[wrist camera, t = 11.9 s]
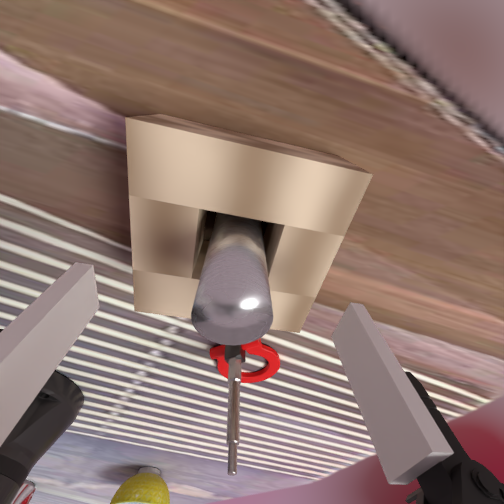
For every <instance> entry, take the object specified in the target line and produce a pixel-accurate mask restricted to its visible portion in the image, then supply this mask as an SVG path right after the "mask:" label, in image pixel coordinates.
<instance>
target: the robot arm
mask: <svg viewBox="0 0 504 504" xmlns="http://www.w3.org/2000/svg"><path fill="white" fill-rule="evenodd" d="M98 309H99V301H98V294H97V287H96V280H95V273H94V266H93V265H91V264H84V263H77V262H76V263H74V264H73V265H72V266H71V267H70V268H69V269H68V270H67V271H66V272H65V273H64V274H63V275H62V276H61V277H59V278H58V279H57V280H56V281H55V282H54V283H53V284H52V285H51V286H50V287H49V288H48V289H47V290H46V291H44V292H43V293H42V294H41V295H40V296H39V297H38V298H37V299H36V300H35V301H34V302H33V303H32V304H31V305H29V306H28V307H27V308H26V309H25V310H24V311H23V312H22V313H21V314H20V315H19V316H18V317H17V318H16V319H14V320H13V321H12V322H11V323H10V324H9V325H8V326H7V327H6V328H5V329H0V504H11V503H12V501H13V500H14V498H15V496H16V495H17V493H18V491H19V489H20V487H21V486H22V484H23V482H24V481H25V479H26V477H27V476H28V474H29V472H30V471H31V469H32V468H33V466H34V465H35V464H36V463H37V461H38V460H39V459H40V458H41V457H42V456H43V455H44V454H45V453H46V451H47V450H48V449H49V448H50V447H51V446H52V445H53V444H54V443H55V442H56V440H57V439H58V438H59V437H60V436H61V435H62V434H63V433H64V432H65V431H66V429H67V428H68V427H69V426H70V425H71V424H72V423H73V421H74V420H75V419H76V417H77V415H78V413H79V411H80V409H81V408H82V406H83V403H84V397H83V394H82V392H81V390H80V389H79V388H78V387H77V386H76V385H75V384H74V383H73V382H72V381H70V380H69V379H67V378H66V377H64V376H63V375H61V374H59V373H57V372H55V369H56V368H57V366H58V365H59V364H60V362H61V361H62V359H63V358H64V357H65V355H66V354H67V352H68V351H69V350H70V348H71V347H72V345H73V344H74V343H75V341H76V340H77V338H78V337H79V335H80V334H81V333H82V331H83V330H84V328H85V327H86V326H87V324H88V323H89V321H90V320H91V319H92V317H93V316H94V314H95V313H96V312H97V310H98ZM331 337H332V339H333V342H334V344H335V347H336V350H337V352H338V355H339V357H340V360H341V362H342V365H343V368H344V370H345V373H346V375H347V378H348V380H349V383H350V386H351V388H352V391H353V393H354V396H355V398H356V401H357V404H358V406H359V409H360V411H361V414H362V416H363V419H364V422H365V424H366V427H367V429H368V432H369V434H370V437H371V440H372V442H373V445H374V447H375V450H376V452H377V455H378V458H379V460H380V463H381V465H382V468H383V470H384V473H385V476H386V478H387V481H388V483H389V484H406V485H407V484H409V483H410V482H412V481H413V480H415V479H416V478H417V480H418V482H419V484H420V486H421V488H419V489H417V490H416V491H414V492H413V493H412V494H410V495H408V496H407V499H406V502H407V503H411V502H412V501H414V500H416V504H504V484H503V483H500V482H499V480H498V479H497V478H496V477H495V476H494V475H493V474H492V473H491V472H490V471H489V470H488V469H487V468H486V467H484V466H483V465H482V464H480V463H478V462H476V461H475V460H471V459H470V458H469V456H468V455H467V453H466V452H465V451H464V449H463V448H462V446H461V444H460V443H459V442H458V440H457V438H456V437H455V435H454V434H453V432H452V431H451V429H450V427H449V426H448V424H447V423H446V421H445V420H444V418H443V417H442V415H441V413H440V412H439V410H437V409H436V408H437V407H436V406H435V404H434V403H433V401H432V400H431V399H430V398H429V397H430V396H429V395H428V393H427V392H426V390H425V389H424V387H423V386H422V384H421V383H420V382H419V381H418V380H417V379H416V378H415V377H414V376H413V375H412V374H411V373H410V372H405V371H404V370H403V369H402V367H401V365H400V364H399V362H398V360H397V359H396V357H395V356H394V354H393V352H392V351H391V349H390V347H389V346H388V344H387V343H386V341H385V339H384V338H383V336H382V334H381V333H380V331H379V329H378V328H377V326H376V325H375V323H374V321H373V320H372V318H371V316H370V315H369V313H368V311H367V310H366V308H365V307H364V305H363V304H357V303H351V302H350V304H349V306H348V307H347V309H346V311H345V313H344V315H343V316H342V318H341V320H340V322H339V323H338V325H337V327H336V329H335V330H334V332H333V334H332V336H331Z"/></svg>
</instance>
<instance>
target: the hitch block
mask: <svg viewBox="0 0 504 504" xmlns="http://www.w3.org/2000/svg"><path fill="white" fill-rule="evenodd" d="M125 124H126V144H127V165H128V186H129V206H130V227H131V247H132V268H133V288H134V309H135V311H138V312H146V313H153V314H161V315H168V316H176V317H183V318H191V312H192V307H193V304H194V300H195V296H196V292H197V288H198V284H199V280H200V277H201V273H202V269H203V265H204V261H205V257H206V253H207V250H208V246H209V242H210V241H206V240H204V232H205V224H206V216H207V210H209V211H214V212H219V213H225V214H230V215H235V216H240V217H245V218H251V219H256V220H261V221H266V222H268V224H267V228H266V231H265V235H264V239H263V242H264V249H265V257H266V264H267V271H268V279H269V286H270V294H271V301H272V309H273V322H272V325H271V327H270V329H274V330H282V331H290V332H297V333H299V332H300V330H301V328H302V326H303V324H304V322H305V319H306V317H307V315H308V313H309V311H310V309H311V307H312V304H313V302H314V300H315V298H316V296H317V294H318V292H319V289H320V287H321V285H322V283H323V281H324V279H325V277H326V274H327V272H328V270H329V268H330V266H331V264H332V261H333V259H334V257H335V255H336V253H337V251H338V249H339V246H340V244H341V242H342V240H343V238H344V236H345V234H346V231H347V229H348V227H349V225H350V223H351V221H352V219H353V216H354V214H355V212H356V210H357V208H358V206H359V203H360V201H361V199H362V197H363V195H364V193H365V191H366V188H367V186H368V184H369V182H370V180H371V178H372V176H373V174H371V173H369V172H367V171H366V170H364V169H362V168H360V167H358V166H356V165H354V164H353V163H351V162H349V161H347V160H345V159H343V158H342V157H340V156H336V155H332V154H328V153H324V152H319V151H315V150H311V149H307V148H302V147H298V146H294V145H290V144H286V143H281V142H277V141H273V140H269V139H265V138H260V137H256V136H252V135H248V134H243V133H239V132H235V131H231V130H227V129H222V128H218V127H214V126H210V125H205V124H201V123H197V122H193V121H189V120H184V119H180V118H176V117H172V116H168V115H163V114H153V115H143V116H133V117H125Z"/></svg>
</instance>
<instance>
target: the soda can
mask: <svg viewBox="0 0 504 504" xmlns="http://www.w3.org/2000/svg"><path fill="white" fill-rule="evenodd" d="M34 491H35V487H34V484H33V483H32V482H31V481H28V480H25V481H24V482H23V484H22V486H21V487H20V489H19V491H18V493H17V495H16V496H15V498H14V500H13V501H12V503H11V504H29V502H30V500H31V498H32V496H33V494H34Z"/></svg>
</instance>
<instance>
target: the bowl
mask: <svg viewBox="0 0 504 504" xmlns="http://www.w3.org/2000/svg"><path fill="white" fill-rule="evenodd" d="M169 502H170V499H169V491H168V487H167V485H166V483H165V482H164V480H163V479H162V478H161V477H160V470H159V469H157V468H153V467H143V468H140V469H139V471H138V474H136V475H134V476H132V477H130V478H129V479H128V480H126V481H125V482H124V483H123V484H122V485H121V486H120V488H119V489H118V490H117V492H116V493H115V495H114V497H113V499H112V500H111V503H110V504H169Z"/></svg>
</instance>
